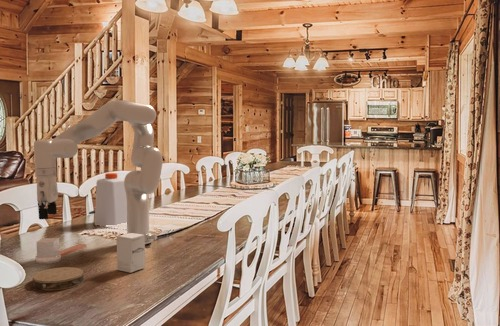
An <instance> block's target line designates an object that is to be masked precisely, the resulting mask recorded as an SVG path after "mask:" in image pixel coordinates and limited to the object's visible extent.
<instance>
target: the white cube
mask: <svg viewBox="0 0 500 326" xmlns="http://www.w3.org/2000/svg"><path fill="white" fill-rule="evenodd" d="M60 251H61V249H60V237H43V238H40V239H39V240H37V241H36V256H37V258H44V257H55V256H57V255H58V254H59V253H60Z"/></svg>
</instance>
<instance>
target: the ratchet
mask: <svg viewBox="0 0 500 326" xmlns="http://www.w3.org/2000/svg"><path fill="white" fill-rule="evenodd" d="M86 248H87V243H86V244H85V243H78V244H74V245H73V246H70V247H67V248H64V249H60V253H59V254H58V255H57V256H55V257H44V258H37V255H35V264H38V265H52V264H56V263H58V262H60V261H62V258H64V257H66V256H68V255H71V254H74V253H75V252H78V251H80V250H83V249H86Z"/></svg>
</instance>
